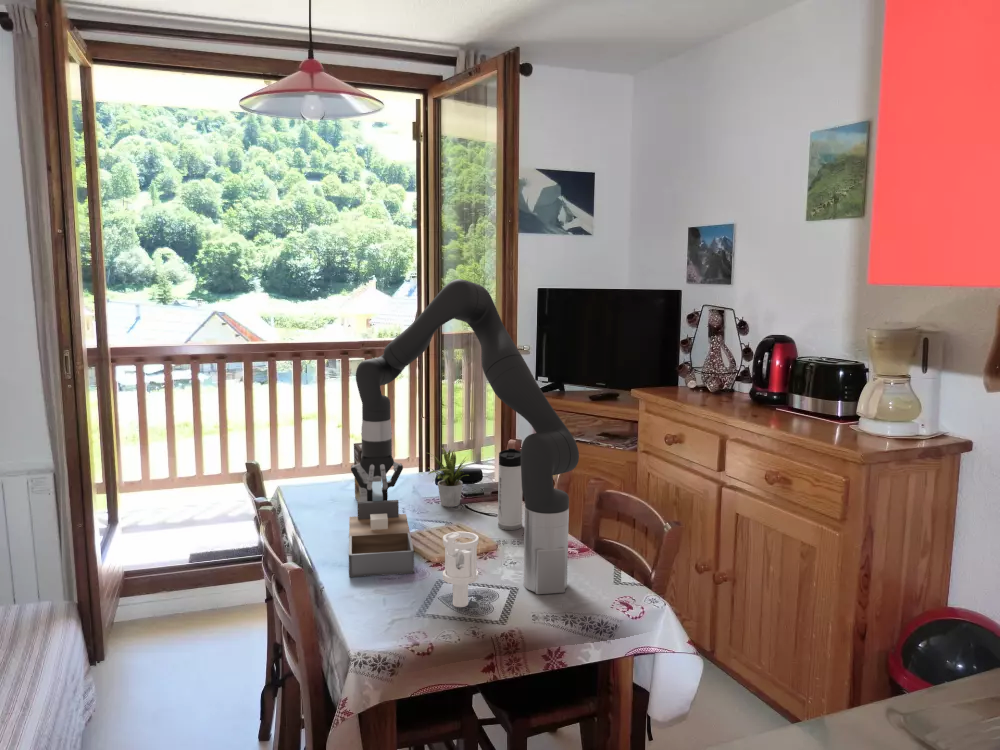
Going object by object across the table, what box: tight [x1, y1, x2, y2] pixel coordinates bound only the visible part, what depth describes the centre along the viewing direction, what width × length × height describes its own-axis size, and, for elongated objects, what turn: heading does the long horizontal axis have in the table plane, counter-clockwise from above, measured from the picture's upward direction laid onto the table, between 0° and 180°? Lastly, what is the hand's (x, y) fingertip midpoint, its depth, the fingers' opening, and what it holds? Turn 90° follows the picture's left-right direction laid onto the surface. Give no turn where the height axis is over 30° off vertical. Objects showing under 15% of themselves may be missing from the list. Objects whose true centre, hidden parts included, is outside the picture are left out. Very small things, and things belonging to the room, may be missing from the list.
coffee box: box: [353, 442, 383, 502], centre depth 220 cm, size 9×6×16 cm
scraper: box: [356, 481, 400, 519], centre depth 197 cm, size 16×10×5 cm, turn 11°
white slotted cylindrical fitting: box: [442, 530, 479, 608], centre depth 153 cm, size 7×7×15 cm
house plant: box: [427, 447, 470, 508], centre depth 218 cm, size 14×14×16 cm
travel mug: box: [497, 448, 523, 531], centre depth 199 cm, size 6×7×20 cm
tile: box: [370, 514, 388, 530], centre depth 184 cm, size 4×4×2 cm
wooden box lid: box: [348, 513, 411, 554], centre depth 186 cm, size 14×14×5 cm
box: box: [348, 532, 415, 578], centre depth 173 cm, size 12×14×5 cm
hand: (377, 502), depth 196 cm, fingers closed on scraper, 2 cm apart
